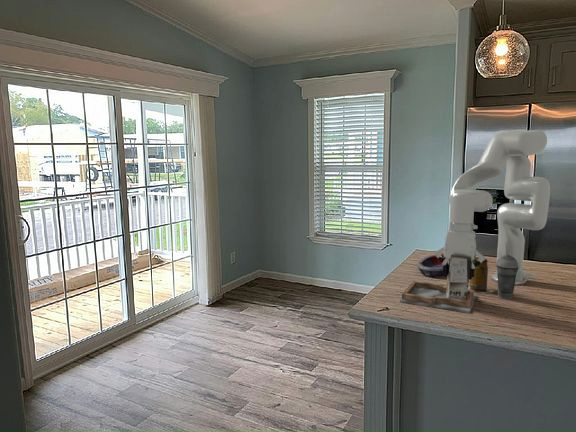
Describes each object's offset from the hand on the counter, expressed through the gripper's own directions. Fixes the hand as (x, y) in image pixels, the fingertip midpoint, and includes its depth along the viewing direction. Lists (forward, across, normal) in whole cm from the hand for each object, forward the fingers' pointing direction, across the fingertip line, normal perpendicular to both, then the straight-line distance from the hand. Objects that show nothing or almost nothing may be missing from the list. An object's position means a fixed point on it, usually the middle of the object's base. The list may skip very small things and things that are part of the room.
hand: (458, 276), depth 151 cm
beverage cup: (+9, -14, -13) cm, 22 cm away
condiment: (+9, -6, -18) cm, 21 cm away
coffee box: (+8, 0, 0) cm, 8 cm away
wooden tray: (+9, +6, 0) cm, 11 cm away
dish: (+9, +14, -40) cm, 44 cm away
